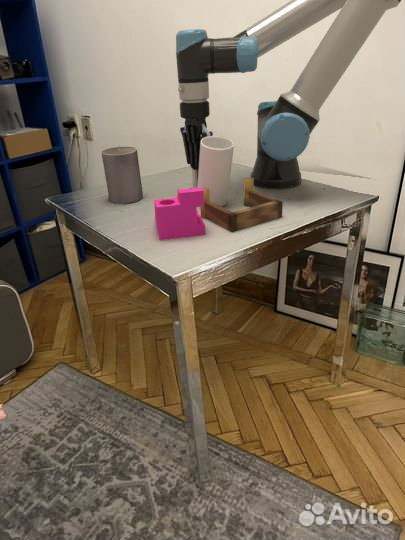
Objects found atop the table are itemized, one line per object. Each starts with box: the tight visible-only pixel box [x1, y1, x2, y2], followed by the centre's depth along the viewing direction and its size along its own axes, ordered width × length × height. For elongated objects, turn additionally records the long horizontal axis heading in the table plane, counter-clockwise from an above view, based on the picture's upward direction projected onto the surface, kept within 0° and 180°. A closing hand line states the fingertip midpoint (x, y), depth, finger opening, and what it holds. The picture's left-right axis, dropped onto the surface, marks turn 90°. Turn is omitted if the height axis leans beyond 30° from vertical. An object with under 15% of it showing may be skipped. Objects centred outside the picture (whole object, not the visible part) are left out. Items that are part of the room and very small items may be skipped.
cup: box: [198, 135, 235, 207], centre depth 103 cm, size 8×8×16 cm
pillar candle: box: [101, 146, 144, 205], centre depth 112 cm, size 10×10×15 cm
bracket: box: [153, 187, 206, 241], centre depth 92 cm, size 12×10×10 cm
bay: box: [199, 176, 284, 233], centre depth 97 cm, size 16×13×7 cm
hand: (198, 191), depth 113 cm, fingers closed
